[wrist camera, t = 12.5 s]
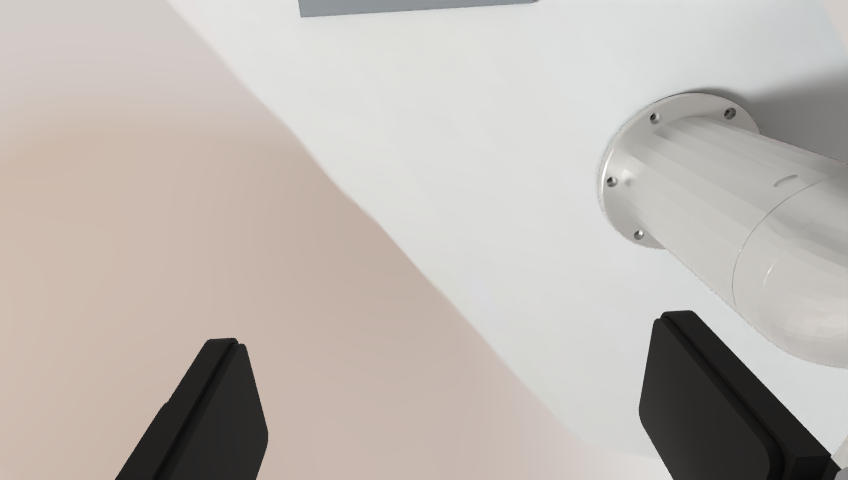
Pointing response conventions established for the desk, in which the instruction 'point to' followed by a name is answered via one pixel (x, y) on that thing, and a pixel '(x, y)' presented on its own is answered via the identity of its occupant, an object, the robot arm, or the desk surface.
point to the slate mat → (388, 5)
